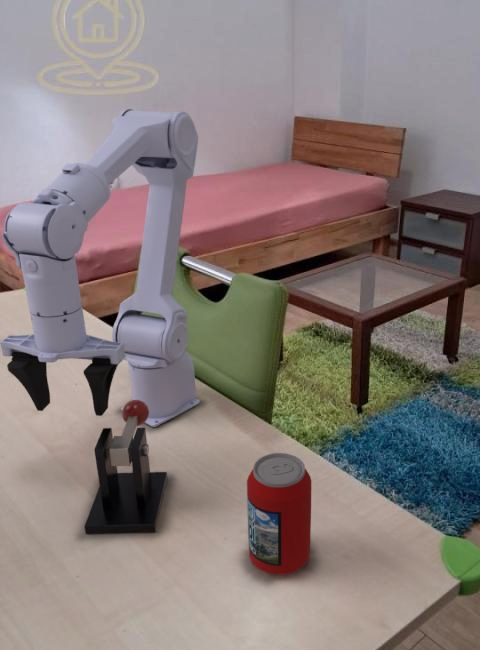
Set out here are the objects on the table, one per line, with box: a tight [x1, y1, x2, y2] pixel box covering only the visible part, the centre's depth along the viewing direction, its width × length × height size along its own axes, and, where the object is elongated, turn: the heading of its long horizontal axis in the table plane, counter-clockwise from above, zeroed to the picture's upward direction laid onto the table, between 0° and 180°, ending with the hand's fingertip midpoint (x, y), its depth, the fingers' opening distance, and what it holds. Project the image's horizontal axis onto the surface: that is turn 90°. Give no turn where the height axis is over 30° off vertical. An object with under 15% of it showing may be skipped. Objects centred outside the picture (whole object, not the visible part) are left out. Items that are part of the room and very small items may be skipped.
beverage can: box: [246, 452, 312, 576], centre depth 67 cm, size 7×7×12 cm
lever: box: [109, 399, 149, 467], centre depth 78 cm, size 12×3×3 cm, turn 3°
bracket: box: [84, 427, 168, 535], centre depth 76 cm, size 10×8×10 cm
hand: (72, 409), depth 79 cm, fingers open, 7 cm apart
